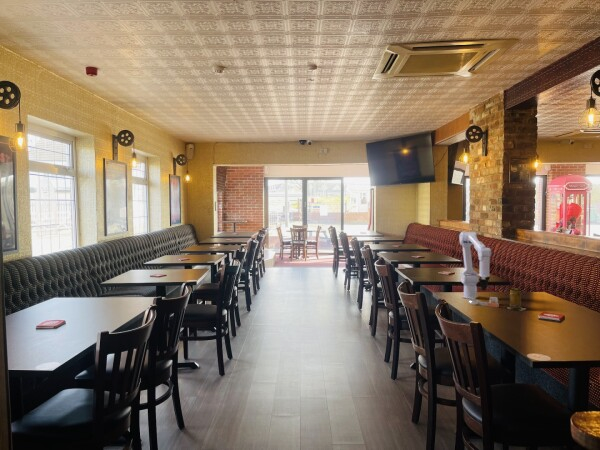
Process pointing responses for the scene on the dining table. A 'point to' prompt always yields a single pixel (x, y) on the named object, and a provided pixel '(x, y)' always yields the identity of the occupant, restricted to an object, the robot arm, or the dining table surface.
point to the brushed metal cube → (493, 300)
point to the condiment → (515, 299)
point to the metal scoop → (482, 303)
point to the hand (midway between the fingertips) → (484, 289)
